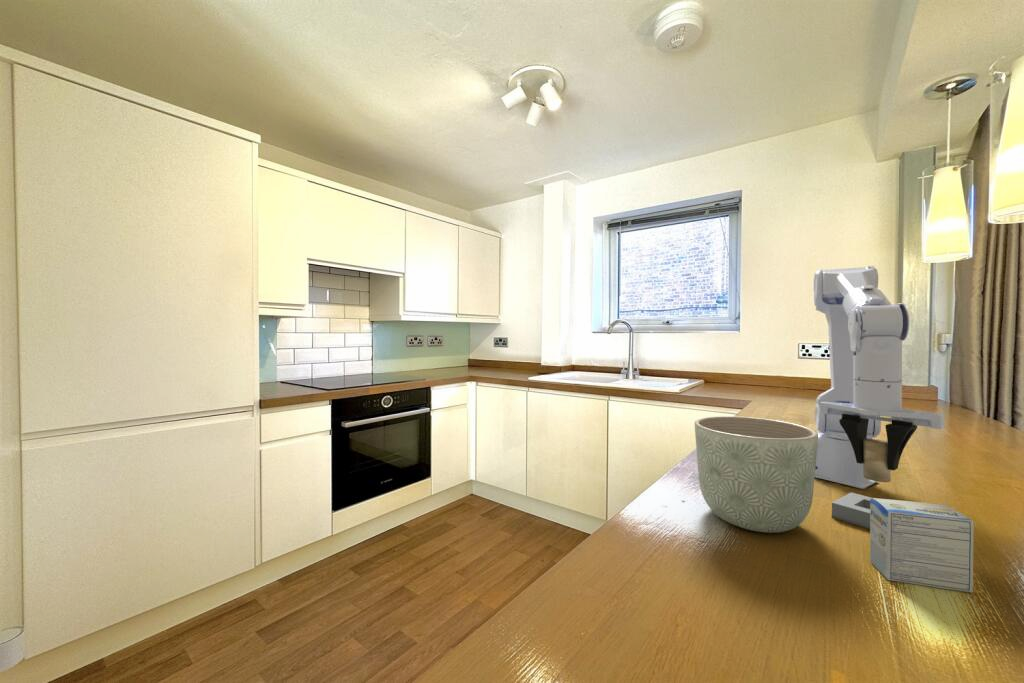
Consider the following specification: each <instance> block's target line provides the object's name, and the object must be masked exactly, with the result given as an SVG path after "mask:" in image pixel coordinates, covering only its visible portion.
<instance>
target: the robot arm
mask: <svg viewBox="0 0 1024 683" xmlns="http://www.w3.org/2000/svg"><path fill="white" fill-rule="evenodd" d="M813 299H814V300H813V302H814V306H815V310H816V311H817V312H820V313H822V314H824V315H825V318H826V322H827V325H828V326H827V328H828V347H829V369H830V388H829V389H827V390H826V391H824V392H822V393H820V394H818V396H817V398H815V408H814V423H815V424H814V425H815V429H816V431H818V432H817V433H818V446H817V457H816V468H815V479H821V480H823V481H824V480H826V481H828V482H829V481H830V482H834V483H836V484H841V485H846V486H848V487H849V486H850V487H852V488H853V487H854V488H857V489H860V490H861V489H862V490H863V489H864V490H865V489H867V488H868V487H870V486H872V485H873V484H875V483H877V482H878V481H873V480H869V479H866V478H864V477H863V439H877V437H878V436H879V435H880V434H881V431H882V422H888V423H887V424H885V432H886V438H887V439H886V441H888V458H887V467H888V469H889V470H891V471H896V470H897V469H899V464H900V461H901V457H902V454H903V451H904V450H905V447H906V445H907V444H908V442H909V441H910V439H911V437H912V436H913V434H914V433H915V431H916V430H917V429H918V427H919V426H920V427H928V428H930V429H935V430H943V429H944V428H945V414H943V413H942V414H941V413H935V412H928V411H927V412H926V411H920V410H919V411H918V410H915V409H913V410H912V409H906V408H903V341H905V340H906V339H907V337H908V335H909V330H910V315H909V311H908V308H907V306H906V305H905V303H904V302H903V303H902V302H901V303H899V302H898V303H894V304H892V303H891V301H889V299H888V298H887V296H886V295H885V294H884V293H883V291H882V290H881V289H879V272H878V269H877V268H876V267H875V266H874V265H868V266H859V267H847V268H845V267H844V268H832V269H818V270H817V271H816V272H815V273H814V276H813Z"/></svg>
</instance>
